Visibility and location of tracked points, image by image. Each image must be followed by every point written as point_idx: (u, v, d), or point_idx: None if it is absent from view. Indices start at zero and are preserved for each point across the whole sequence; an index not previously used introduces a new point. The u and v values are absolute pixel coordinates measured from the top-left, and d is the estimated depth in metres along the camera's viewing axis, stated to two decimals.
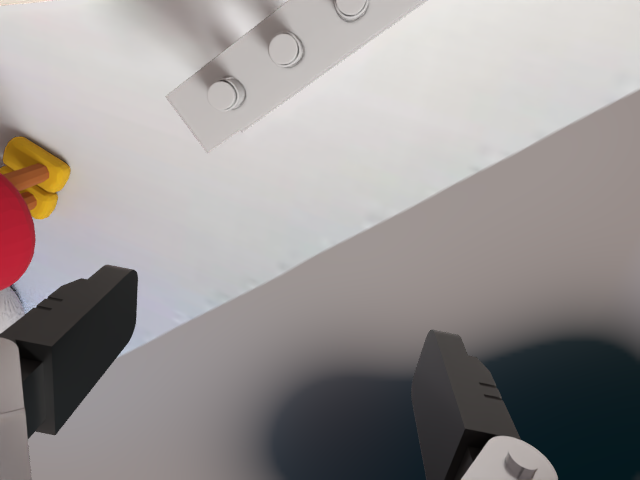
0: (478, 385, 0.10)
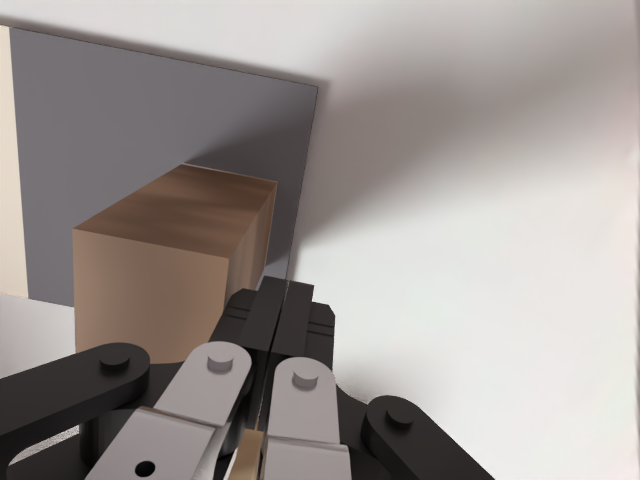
0: (306, 322, 0.11)
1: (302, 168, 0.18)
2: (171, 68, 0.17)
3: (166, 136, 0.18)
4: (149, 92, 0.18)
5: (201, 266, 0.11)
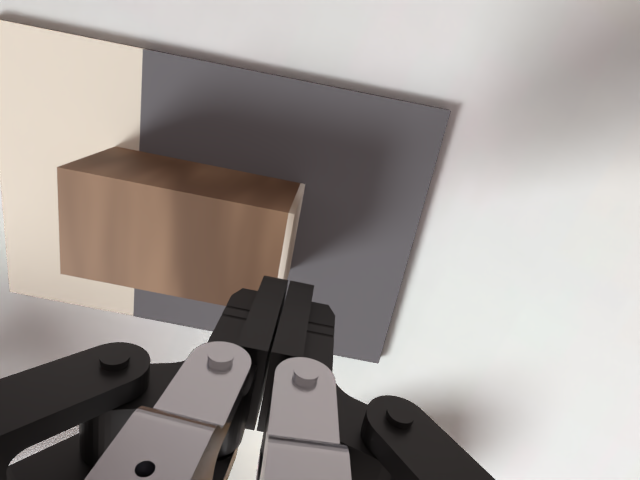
0: (306, 322, 0.11)
1: (426, 190, 0.18)
2: (304, 91, 0.17)
3: (291, 157, 0.18)
4: (279, 114, 0.18)
5: None
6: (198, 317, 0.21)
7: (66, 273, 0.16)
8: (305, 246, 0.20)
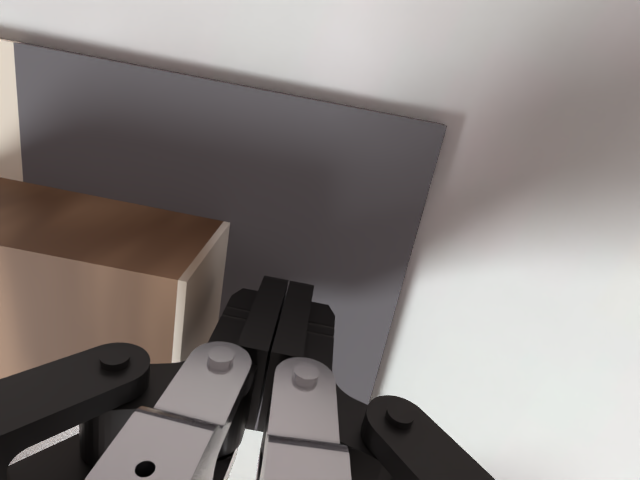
0: (306, 322, 0.11)
1: (414, 233, 0.14)
2: (241, 99, 0.12)
3: (229, 190, 0.13)
4: (209, 132, 0.13)
5: None
6: None
7: None
8: None
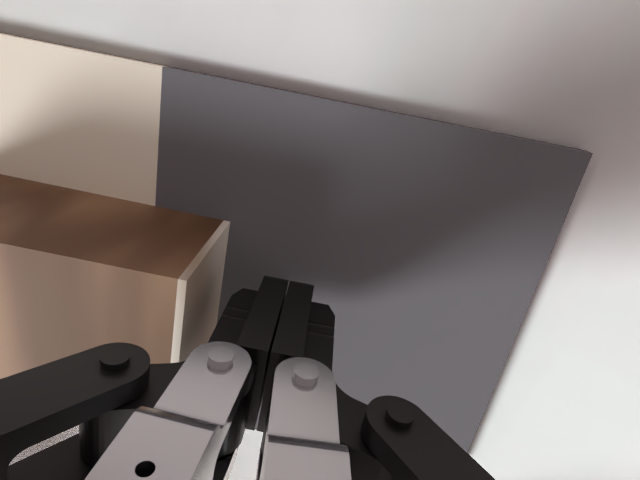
0: (306, 322, 0.11)
1: (546, 257, 0.14)
2: (387, 125, 0.12)
3: (364, 214, 0.13)
4: (350, 156, 0.13)
5: None
6: None
7: None
8: (375, 326, 0.15)
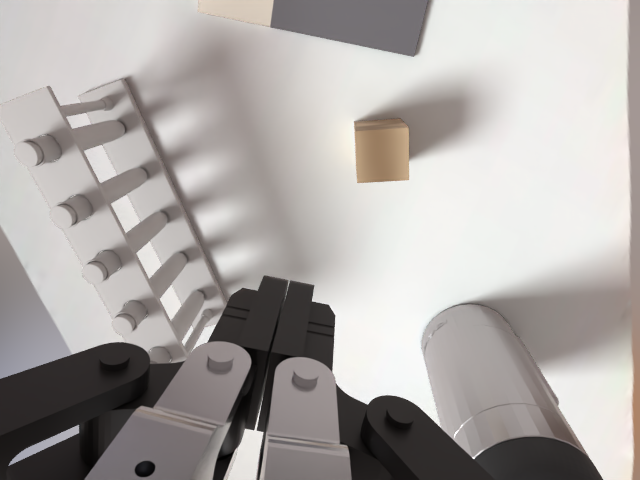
0: (306, 322, 0.11)
1: None
2: None
3: None
4: None
5: None
6: (309, 26, 0.36)
7: None
8: None
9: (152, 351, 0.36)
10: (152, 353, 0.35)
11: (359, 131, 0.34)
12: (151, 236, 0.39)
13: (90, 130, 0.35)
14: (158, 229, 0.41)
